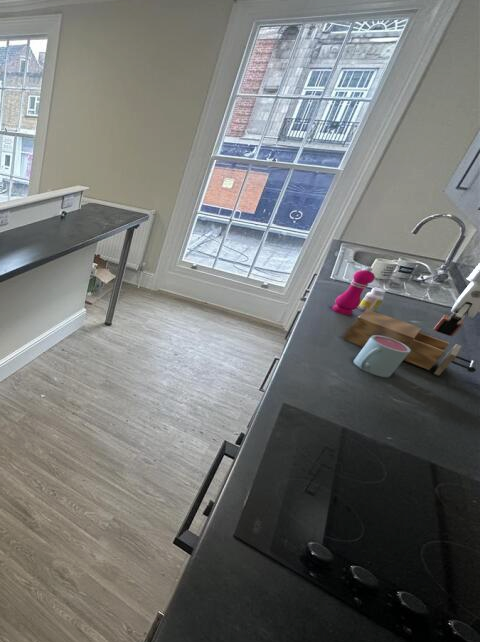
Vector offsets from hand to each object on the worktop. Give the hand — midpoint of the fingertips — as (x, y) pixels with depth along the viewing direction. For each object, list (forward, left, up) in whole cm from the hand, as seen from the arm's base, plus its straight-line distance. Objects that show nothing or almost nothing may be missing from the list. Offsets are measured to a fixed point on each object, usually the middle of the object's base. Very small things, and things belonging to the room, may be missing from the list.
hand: (444, 330), depth 127 cm
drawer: (-1, -1, -12) cm, 12 cm away
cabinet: (+10, +6, -13) cm, 18 cm away
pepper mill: (+34, -6, -13) cm, 37 cm away
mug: (-4, +24, -13) cm, 28 cm away
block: (0, 0, 0) cm, 0 cm away
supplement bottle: (+36, -20, -13) cm, 44 cm away
